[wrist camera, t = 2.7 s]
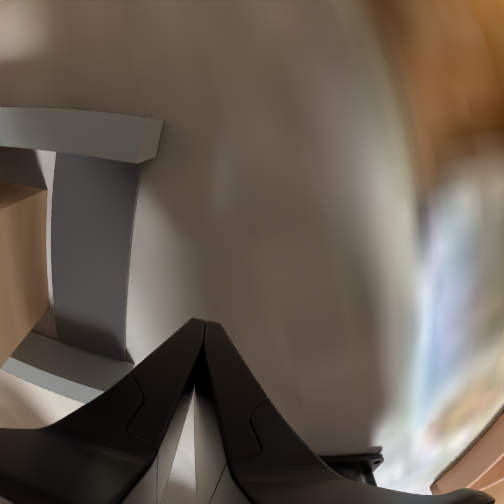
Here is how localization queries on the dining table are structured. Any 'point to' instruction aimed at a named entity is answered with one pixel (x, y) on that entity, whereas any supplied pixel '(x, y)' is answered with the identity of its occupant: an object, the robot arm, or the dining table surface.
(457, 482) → the brown rectangular tray
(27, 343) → the grey u-shaped frame
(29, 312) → the walnut block
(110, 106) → the dining table surface
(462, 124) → the dining table surface
